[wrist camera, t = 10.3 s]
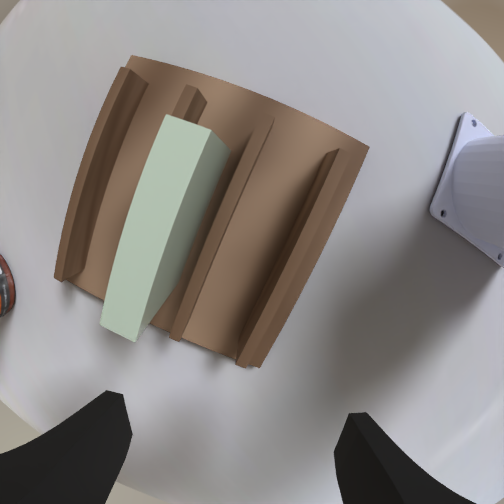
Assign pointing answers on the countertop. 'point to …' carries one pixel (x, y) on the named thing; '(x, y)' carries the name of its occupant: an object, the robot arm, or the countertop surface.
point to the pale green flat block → (162, 223)
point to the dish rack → (214, 204)
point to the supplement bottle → (6, 288)
